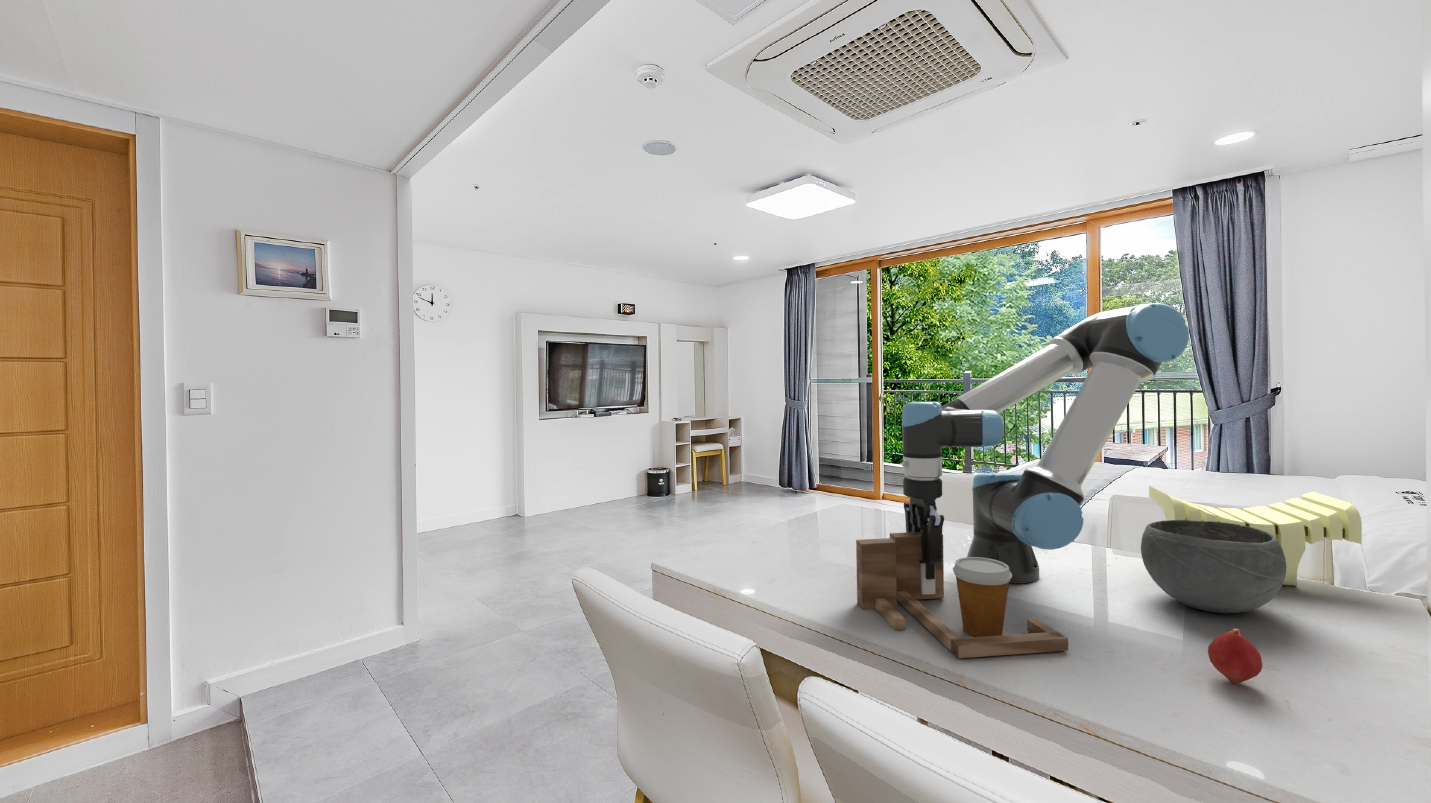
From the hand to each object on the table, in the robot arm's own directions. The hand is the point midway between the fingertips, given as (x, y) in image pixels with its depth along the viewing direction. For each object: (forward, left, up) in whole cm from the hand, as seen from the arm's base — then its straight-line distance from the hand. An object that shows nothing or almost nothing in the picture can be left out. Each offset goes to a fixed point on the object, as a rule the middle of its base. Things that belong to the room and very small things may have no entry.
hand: (923, 589), depth 117 cm
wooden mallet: (+11, +8, -2) cm, 13 cm away
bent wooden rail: (-3, +12, -1) cm, 13 cm away
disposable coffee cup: (-3, +16, -2) cm, 17 cm away
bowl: (-51, +12, -2) cm, 52 cm away
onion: (-29, +37, -2) cm, 47 cm away
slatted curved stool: (-74, -2, -2) cm, 74 cm away
